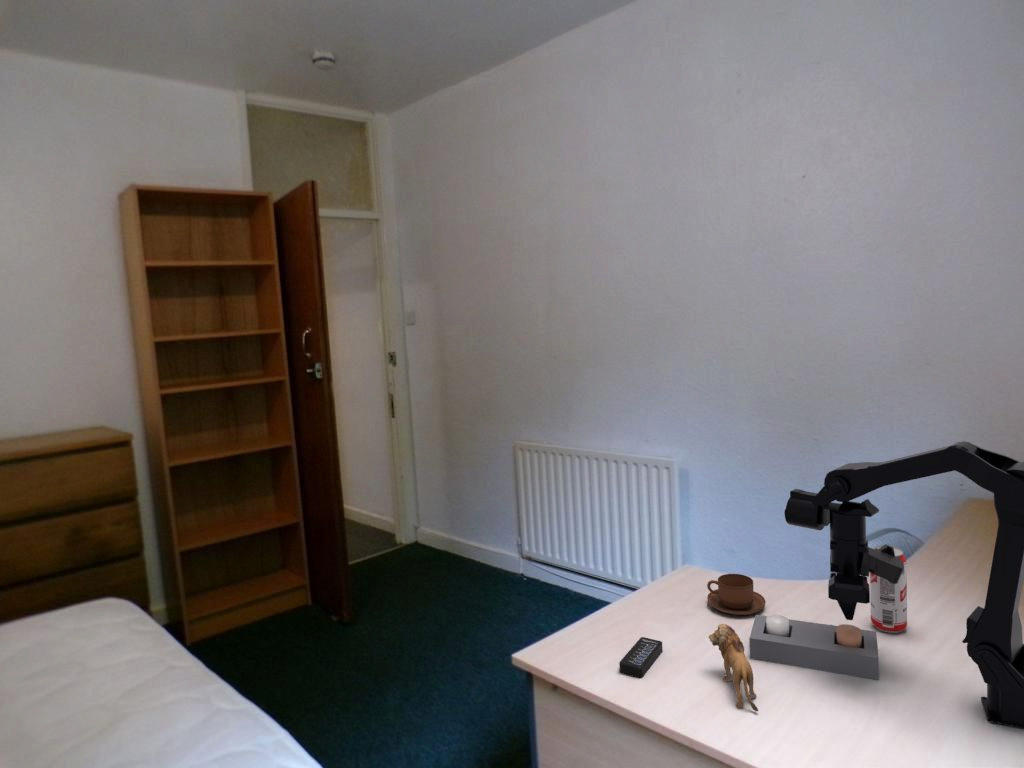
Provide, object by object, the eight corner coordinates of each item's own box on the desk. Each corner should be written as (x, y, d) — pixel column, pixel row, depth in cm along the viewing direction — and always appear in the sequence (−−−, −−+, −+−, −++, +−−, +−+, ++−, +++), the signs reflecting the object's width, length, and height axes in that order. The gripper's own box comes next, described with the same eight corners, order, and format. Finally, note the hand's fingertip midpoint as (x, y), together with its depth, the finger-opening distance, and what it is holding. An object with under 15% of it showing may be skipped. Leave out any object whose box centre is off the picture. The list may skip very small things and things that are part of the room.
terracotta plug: (861, 655, 116) (861, 636, 116) (836, 651, 118) (836, 632, 118) (861, 644, 120) (861, 626, 119) (836, 640, 122) (836, 622, 121)
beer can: (870, 631, 129) (869, 554, 126) (870, 616, 134) (870, 542, 132) (907, 637, 126) (907, 558, 123) (906, 621, 131) (906, 545, 129)
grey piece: (788, 643, 122) (788, 625, 121) (765, 640, 123) (765, 622, 123) (790, 633, 125) (789, 616, 125) (767, 630, 127) (767, 613, 127)
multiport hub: (619, 674, 120) (618, 662, 120) (641, 647, 130) (641, 636, 129) (641, 680, 118) (641, 668, 118) (663, 652, 127) (662, 641, 127)
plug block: (878, 680, 113) (878, 658, 112) (750, 658, 122) (749, 637, 122) (876, 651, 122) (876, 631, 121) (756, 633, 131) (755, 614, 131)
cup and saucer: (709, 618, 139) (708, 590, 138) (706, 594, 151) (705, 568, 150) (769, 621, 136) (768, 592, 136) (761, 596, 148) (761, 570, 147)
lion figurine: (707, 668, 120) (705, 621, 119) (735, 665, 120) (733, 618, 119) (742, 716, 105) (740, 663, 104) (774, 712, 106) (772, 659, 105)
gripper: (904, 558, 105) (905, 651, 106) (896, 522, 121) (897, 603, 123) (827, 551, 110) (829, 640, 111) (829, 518, 126) (831, 595, 128)
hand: (849, 619), depth 118 cm, fingers closed
